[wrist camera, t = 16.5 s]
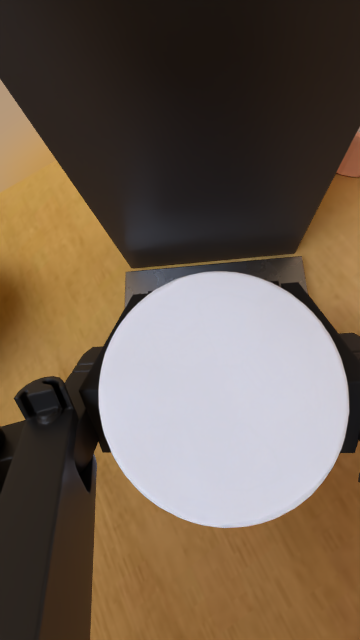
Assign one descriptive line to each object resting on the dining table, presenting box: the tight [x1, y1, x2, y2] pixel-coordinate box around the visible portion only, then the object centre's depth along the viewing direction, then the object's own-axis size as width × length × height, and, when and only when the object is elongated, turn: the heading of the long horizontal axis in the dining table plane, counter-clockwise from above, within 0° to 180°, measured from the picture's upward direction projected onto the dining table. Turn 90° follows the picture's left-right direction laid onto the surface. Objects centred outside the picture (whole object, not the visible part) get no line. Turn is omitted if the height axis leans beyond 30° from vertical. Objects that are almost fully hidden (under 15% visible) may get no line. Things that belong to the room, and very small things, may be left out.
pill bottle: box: [98, 271, 349, 528], centre depth 10 cm, size 6×6×11 cm
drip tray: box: [125, 256, 308, 307], centre depth 21 cm, size 14×14×2 cm
